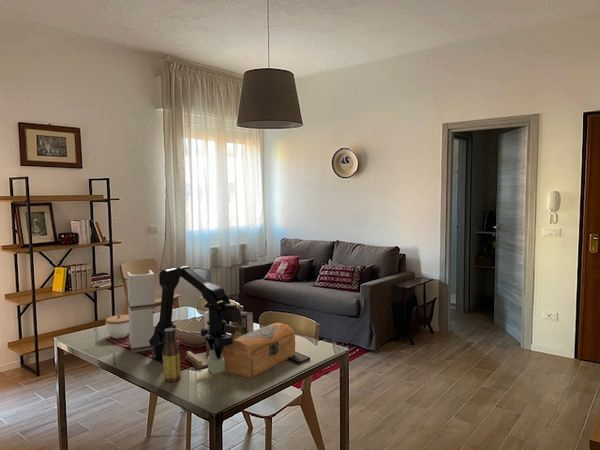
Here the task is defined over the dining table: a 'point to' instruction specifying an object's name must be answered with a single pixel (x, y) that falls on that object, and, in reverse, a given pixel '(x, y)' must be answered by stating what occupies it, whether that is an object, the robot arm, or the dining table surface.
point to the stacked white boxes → (141, 310)
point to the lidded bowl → (118, 325)
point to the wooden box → (259, 350)
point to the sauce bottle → (171, 356)
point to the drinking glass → (206, 318)
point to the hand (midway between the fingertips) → (216, 357)
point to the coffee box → (243, 324)
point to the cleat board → (199, 358)
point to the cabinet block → (216, 362)
